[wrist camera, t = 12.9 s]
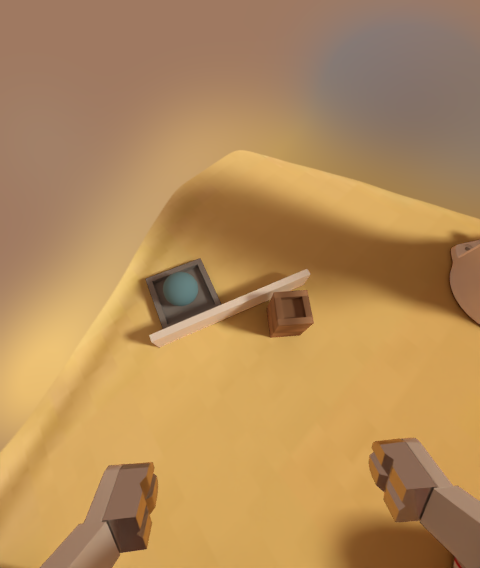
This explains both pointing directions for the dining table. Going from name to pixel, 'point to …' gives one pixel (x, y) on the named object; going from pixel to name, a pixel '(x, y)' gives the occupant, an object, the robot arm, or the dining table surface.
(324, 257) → the dining table surface
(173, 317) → the tray
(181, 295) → the ball
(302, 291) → the stand
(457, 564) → the soda can
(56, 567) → the robot arm
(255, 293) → the wooden wall
